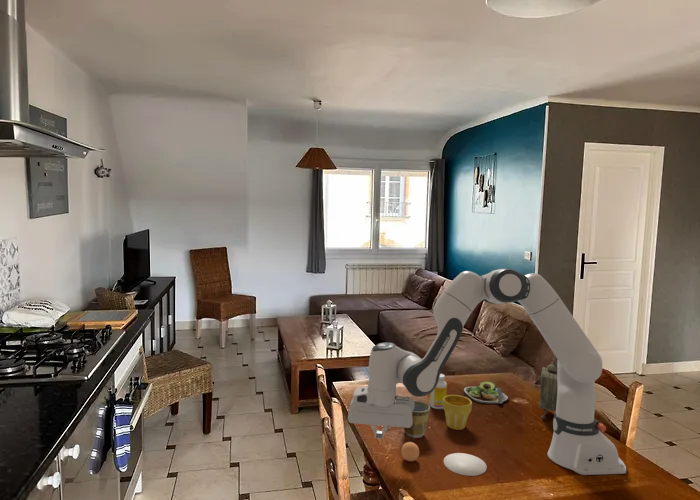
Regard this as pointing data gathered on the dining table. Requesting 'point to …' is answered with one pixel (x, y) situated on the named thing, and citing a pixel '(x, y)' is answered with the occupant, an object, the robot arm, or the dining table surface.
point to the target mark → (465, 464)
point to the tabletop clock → (548, 388)
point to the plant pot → (456, 411)
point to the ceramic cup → (418, 420)
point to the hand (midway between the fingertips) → (379, 437)
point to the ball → (410, 451)
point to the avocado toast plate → (486, 393)
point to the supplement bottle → (438, 393)
